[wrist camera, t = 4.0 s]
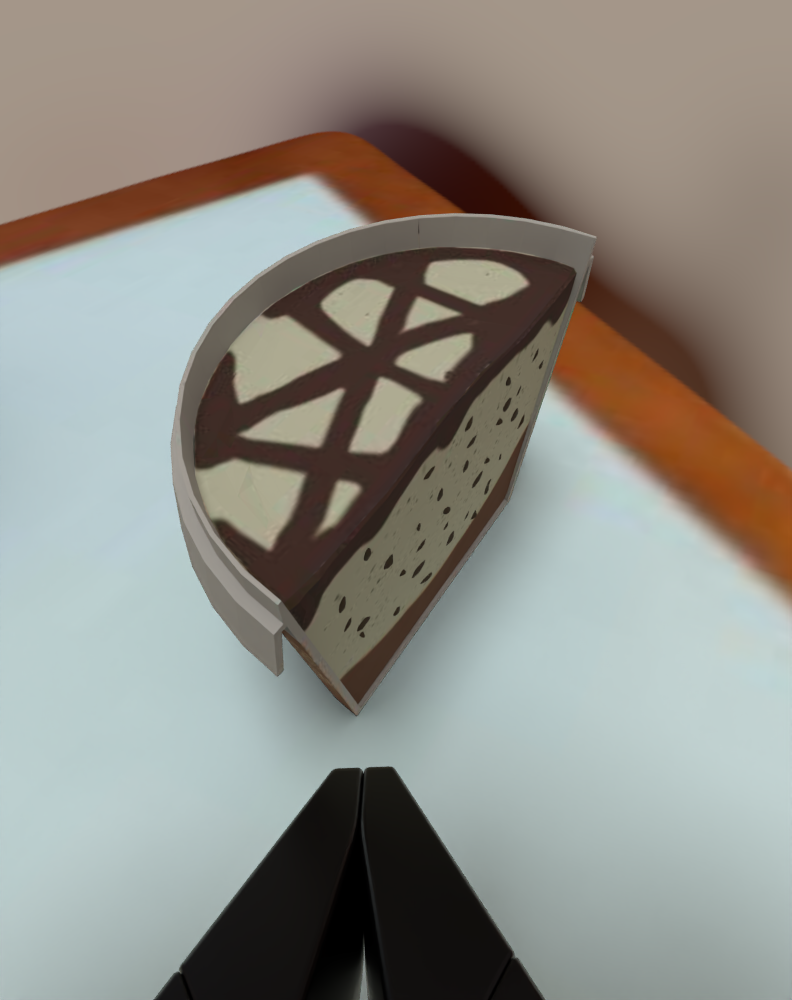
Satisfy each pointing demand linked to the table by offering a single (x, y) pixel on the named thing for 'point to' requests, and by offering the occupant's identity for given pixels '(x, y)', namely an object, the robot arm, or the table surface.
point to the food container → (366, 429)
